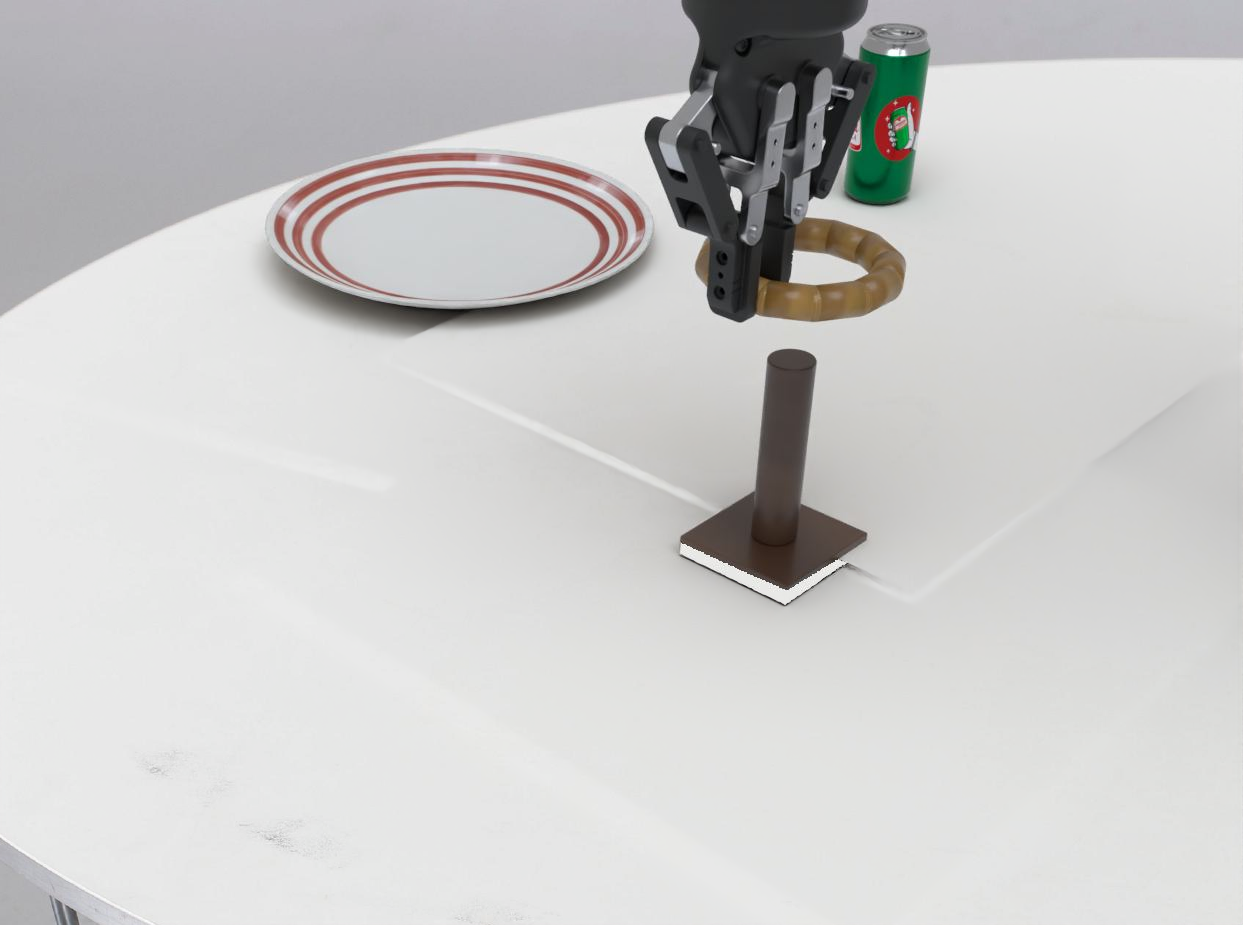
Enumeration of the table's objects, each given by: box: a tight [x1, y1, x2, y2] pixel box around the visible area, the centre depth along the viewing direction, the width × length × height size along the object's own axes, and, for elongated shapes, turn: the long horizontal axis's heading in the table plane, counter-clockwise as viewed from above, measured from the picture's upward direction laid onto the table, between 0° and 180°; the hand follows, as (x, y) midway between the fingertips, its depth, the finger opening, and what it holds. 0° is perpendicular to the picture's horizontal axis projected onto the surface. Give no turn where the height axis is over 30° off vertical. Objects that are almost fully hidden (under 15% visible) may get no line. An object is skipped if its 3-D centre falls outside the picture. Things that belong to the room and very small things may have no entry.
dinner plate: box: [264, 147, 655, 310], centre depth 116 cm, size 28×27×3 cm
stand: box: [679, 348, 868, 590], centre depth 82 cm, size 7×7×11 cm
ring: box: [694, 216, 907, 323], centre depth 76 cm, size 10×10×2 cm
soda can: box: [843, 22, 932, 205], centre depth 121 cm, size 5×5×12 cm
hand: (747, 306), depth 74 cm, fingers closed on ring, 1 cm apart
